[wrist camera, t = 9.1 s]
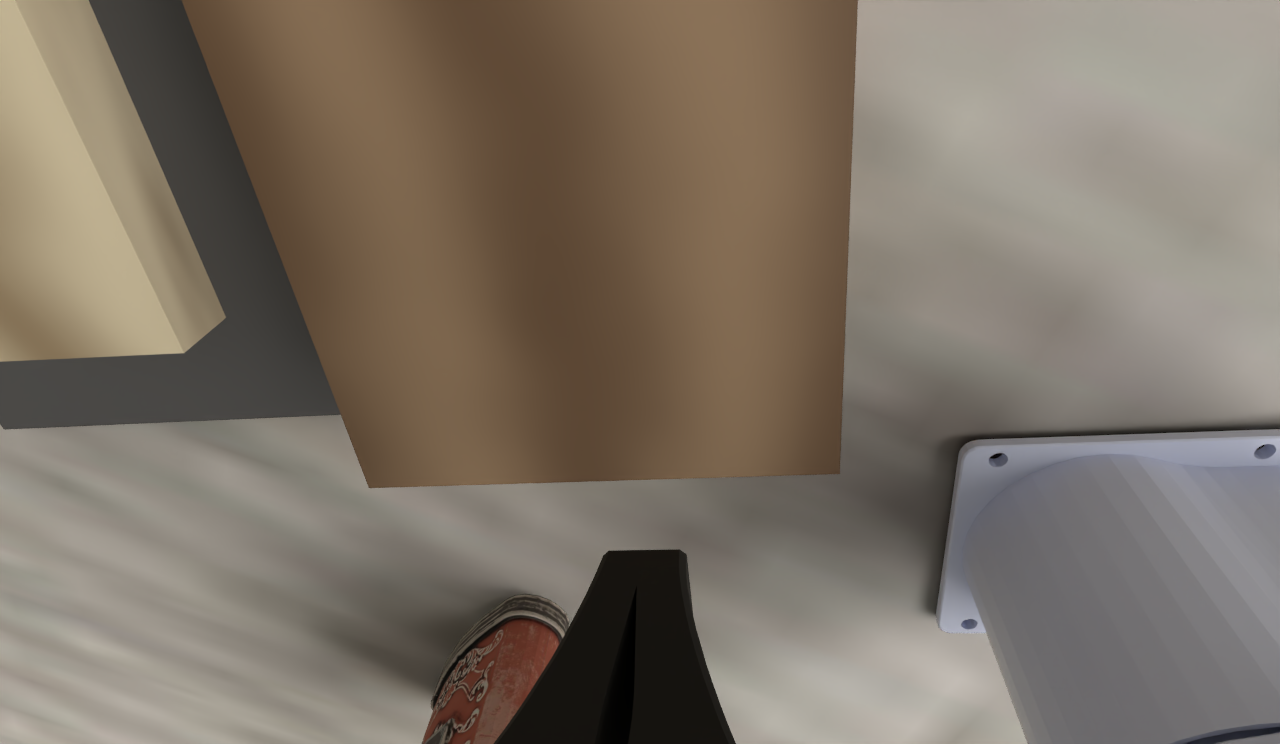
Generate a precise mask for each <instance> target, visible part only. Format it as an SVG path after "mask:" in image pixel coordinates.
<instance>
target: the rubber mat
mask: <svg viewBox="0 0 1280 744" xmlns="http://www.w3.org/2000/svg"><path fill="white" fill-rule="evenodd" d="M89 2H90V5H91V7H92V9H93V12H94V14H95V16H96V19H97V21H98V23H99V25H100V28H101V30H102V32H103V35H104V37H105V39H106V42H107V44H108V46H109V48H110V51H111V53H112V55H113V58H114V60H115V62H116V65H117V67H118V69H119V72H120V74H121V76H122V78H123V81H124V83H125V85H126V88H127V90H128V92H129V95H130V97H131V99H132V102H133V104H134V106H135V108H136V111H137V113H138V115H139V118H140V120H141V122H142V125H143V127H144V129H145V132H146V134H147V136H148V138H149V141H150V143H151V145H152V148H153V150H154V152H155V155H156V157H157V159H158V162H159V164H160V166H161V168H162V171H163V173H164V175H165V178H166V180H167V182H168V185H169V187H170V189H171V191H172V194H173V196H174V198H175V201H176V203H177V205H178V208H179V210H180V212H181V215H182V217H183V219H184V221H185V224H186V226H187V228H188V231H189V233H190V235H191V238H192V240H193V242H194V245H195V247H196V249H197V251H198V254H199V256H200V258H201V261H202V263H203V265H204V268H205V270H206V272H207V275H208V277H209V279H210V281H211V284H212V286H213V288H214V291H215V293H216V295H217V298H218V300H219V302H220V305H221V307H222V309H223V311H224V314H225V316H226V318H225V319H224V320H223V321H222V322H220V323H219V324H218V325H217V326H216V327H215V328H213V329H212V330H211V331H210V332H209V333H207V334H206V335H205V336H204V337H203V338H202V339H200V340H199V341H198V342H197V343H196V344H194V345H193V346H192V347H191V348H190V349H188V350H187V351H186V352H185V353H176V354H155V355H133V356H112V357H90V358H68V359H47V360H25V361H3V362H0V424H1V426H2V427H3V429H23V428H46V427H69V426H92V425H115V424H138V423H161V422H184V421H207V420H230V419H253V418H276V417H299V416H322V415H341V414H340V411H339V408H338V406H337V403H336V401H335V398H334V395H333V393H332V390H331V388H330V385H329V382H328V380H327V377H326V375H325V372H324V369H323V367H322V364H321V362H320V359H319V356H318V354H317V351H316V349H315V346H314V343H313V341H312V338H311V336H310V333H309V330H308V328H307V325H306V323H305V320H304V317H303V315H302V312H301V310H300V307H299V304H298V302H297V299H296V297H295V294H294V291H293V289H292V286H291V284H290V281H289V278H288V276H287V273H286V271H285V268H284V265H283V263H282V260H281V258H280V255H279V252H278V250H277V247H276V245H275V242H274V239H273V237H272V234H271V232H270V229H269V226H268V224H267V221H266V219H265V216H264V213H263V211H262V208H261V206H260V203H259V200H258V198H257V195H256V192H255V190H254V187H253V185H252V182H251V179H250V177H249V174H248V172H247V169H246V166H245V164H244V161H243V159H242V156H241V153H240V151H239V148H238V146H237V143H236V140H235V138H234V135H233V133H232V130H231V127H230V125H229V122H228V120H227V117H226V114H225V112H224V109H223V107H222V104H221V101H220V99H219V96H218V94H217V91H216V88H215V86H214V83H213V81H212V78H211V75H210V73H209V70H208V68H207V65H206V62H205V60H204V57H203V55H202V52H201V49H200V47H199V44H198V42H197V39H196V36H195V34H194V31H193V29H192V26H191V23H190V21H189V18H188V16H187V13H186V10H185V8H184V5H183V3H182V0H89Z"/></svg>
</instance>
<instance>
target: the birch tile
mask: <svg viewBox="0 0 1280 744" xmlns="http://www.w3.org/2000/svg"><path fill="white" fill-rule="evenodd" d="M225 318H226V316H225V314H224V311H223V309H222V307H221V305H220V302H219V300H218V298H217V295H216V293H215V291H214V288H213V286H212V284H211V281H210V279H209V277H208V275H207V272H206V270H205V268H204V265H203V263H202V261H201V258H200V256H199V254H198V251H197V249H196V247H195V245H194V242H193V240H192V238H191V235H190V233H189V231H188V228H187V226H186V224H185V221H184V219H183V217H182V215H181V212H180V210H179V208H178V205H177V203H176V201H175V198H174V196H173V194H172V191H171V189H170V187H169V185H168V182H167V180H166V178H165V175H164V173H163V171H162V168H161V166H160V164H159V162H158V159H157V157H156V155H155V152H154V150H153V148H152V145H151V143H150V141H149V138H148V136H147V134H146V132H145V129H144V127H143V125H142V122H141V120H140V118H139V115H138V113H137V111H136V108H135V106H134V104H133V102H132V99H131V97H130V95H129V92H128V90H127V88H126V85H125V83H124V81H123V78H122V76H121V74H120V72H119V69H118V67H117V65H116V62H115V60H114V58H113V55H112V53H111V51H110V48H109V46H108V44H107V42H106V39H105V37H104V35H103V32H102V30H101V28H100V25H99V23H98V21H97V19H96V16H95V14H94V12H93V9H92V7H91V5H90V2H89V0H0V362H3V361H25V360H47V359H68V358H90V357H112V356H133V355H155V354H176V353H185V352H186V351H187V350H188V349H190V348H191V347H192V346H193V345H194V344H196V343H197V342H198V341H199V340H200V339H202V338H203V337H204V336H205V335H206V334H207V333H209V332H210V331H211V330H212V329H213V328H215V327H216V326H217V325H218V324H219V323H220V322H222V321H223V320H224V319H225Z"/></svg>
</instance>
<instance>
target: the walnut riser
mask: <svg viewBox="0 0 1280 744" xmlns="http://www.w3.org/2000/svg"><path fill="white" fill-rule="evenodd" d="M182 3H183V5H184V8H185V10H186V13H187V16H188V18H189V21H190V23H191V26H192V29H193V31H194V34H195V36H196V39H197V42H198V44H199V47H200V49H201V52H202V55H203V57H204V60H205V62H206V65H207V68H208V70H209V73H210V75H211V78H212V81H213V83H214V86H215V88H216V91H217V94H218V96H219V99H220V101H221V104H222V107H223V109H224V112H225V114H226V117H227V120H228V122H229V125H230V127H231V130H232V133H233V135H234V138H235V140H236V143H237V146H238V148H239V151H240V153H241V156H242V159H243V161H244V164H245V166H246V169H247V172H248V174H249V177H250V179H251V182H252V185H253V187H254V190H255V192H256V195H257V198H258V200H259V203H260V206H261V208H262V211H263V213H264V216H265V219H266V221H267V224H268V226H269V229H270V232H271V234H272V237H273V239H274V242H275V245H276V247H277V250H278V252H279V255H280V258H281V260H282V263H283V265H284V268H285V271H286V273H287V276H288V278H289V281H290V284H291V286H292V289H293V291H294V294H295V297H296V299H297V302H298V304H299V307H300V310H301V312H302V315H303V317H304V320H305V323H306V325H307V328H308V330H309V333H310V336H311V338H312V341H313V343H314V346H315V349H316V351H317V354H318V356H319V359H320V362H321V364H322V367H323V369H324V372H325V375H326V377H327V380H328V382H329V385H330V388H331V390H332V393H333V395H334V398H335V401H336V403H337V406H338V408H339V411H340V414H341V416H342V419H343V421H344V424H345V427H346V429H347V432H348V434H349V437H350V440H351V442H352V445H353V447H354V450H355V453H356V455H357V458H358V460H359V463H360V466H361V468H362V471H363V473H364V476H365V479H366V481H367V484H368V486H369V488H385V487H418V486H452V485H485V484H518V483H551V482H584V481H618V480H651V479H684V478H717V477H751V476H784V475H817V474H840V451H841V425H842V399H843V372H844V346H845V320H846V294H847V268H848V241H849V215H850V189H851V163H852V136H853V110H854V84H855V58H856V32H857V5H858V0H182Z"/></svg>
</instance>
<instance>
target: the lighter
mask: <svg viewBox="0 0 1280 744" xmlns="http://www.w3.org/2000/svg"><path fill="white" fill-rule="evenodd" d="M568 627H569V619H568V617H567V614H566V613H565V612H564V611H563V610H562V609H561V607H560V606H558V605H556V604H555V603H553V602H552V601H550V600H548V599H545V598H542V597H539V596H534V595H527V594H526V595H516V596H513V597H511V598H509V599H507V600H506V601H504V602H503V603H501V604H500V605H499V606H497V607H496V608H495V609H493V610H492V611H491V612H489V613H488V614H487V615H485V616H484V617H483V618H482V619H481V620H480V621H479V622H478V623H477V624H476V625H475V626H474V627H473V628H472V629H471V630H470V631H469V632H468V633H467V634H466V635H465V636H464V637H463V638H462V639H461V640H460V642H459V643H458V645H457V646H456V648H455V649H454V651H453V652H452V654H451V655H450V657H449V658H448V660H447V662H446V664H445V666H444V669H443V671H442V674H441V676H440V678H439V681H438V683H437V686H436V689H435V692H434V695H433V697H432V700H431V708H432V710H433V713H432V715H431V718H430V721H429V724H428V727H427V730H426V733H425V736H424V738H423V741H422V744H494V742H495V741H496V740H497V738H498V737H499V736H500V734H501V733H502V732H503V730H504V729H505V728H506V726H507V725H508V723H509V722H510V721H511V719H512V718H513V716H514V715H515V713H516V712H517V711H518V709H519V708H520V706H521V705H522V703H523V702H524V700H525V699H526V697H527V696H528V694H529V693H530V691H531V689H532V688H533V686H534V685H535V683H536V682H537V680H538V678H539V677H540V675H541V674H542V672H543V671H544V669H545V667H546V666H547V664H548V663H549V661H550V659H551V658H552V656H553V654H554V653H555V651H556V649H557V647H558V646H559V644H560V642H561V640H562V639H563V637H564V635H565V633H566V631H567V630H568Z"/></svg>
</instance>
